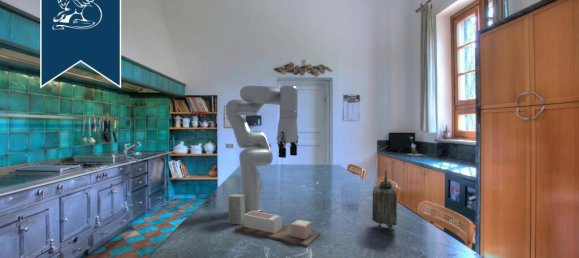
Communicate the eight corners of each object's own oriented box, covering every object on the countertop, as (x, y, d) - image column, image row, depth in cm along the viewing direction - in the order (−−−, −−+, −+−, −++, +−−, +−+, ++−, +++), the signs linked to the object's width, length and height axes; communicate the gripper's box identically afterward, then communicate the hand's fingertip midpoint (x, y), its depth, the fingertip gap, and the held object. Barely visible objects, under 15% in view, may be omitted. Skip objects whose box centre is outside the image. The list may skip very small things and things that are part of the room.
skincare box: (245, 221, 120) (245, 194, 120) (240, 225, 116) (240, 196, 116) (232, 220, 122) (233, 193, 122) (227, 223, 118) (227, 195, 118)
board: (235, 229, 110) (235, 227, 110) (252, 220, 121) (252, 219, 121) (307, 247, 95) (307, 244, 95) (319, 235, 106) (319, 233, 106)
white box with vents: (243, 226, 112) (243, 214, 112) (252, 222, 117) (252, 210, 117) (274, 233, 105) (274, 220, 105) (281, 228, 110) (281, 215, 110)
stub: (290, 236, 102) (290, 223, 102) (297, 230, 107) (297, 219, 107) (304, 239, 99) (305, 226, 99) (311, 233, 104) (311, 221, 104)
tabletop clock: (396, 237, 104) (397, 173, 104) (372, 234, 107) (372, 171, 107) (395, 225, 117) (396, 168, 117) (373, 222, 121) (374, 167, 120)
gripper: (290, 116, 122) (289, 154, 122) (269, 114, 106) (269, 157, 106) (305, 116, 118) (304, 155, 118) (286, 114, 103) (285, 159, 103)
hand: (288, 156), depth 112 cm, fingers open, 9 cm apart
